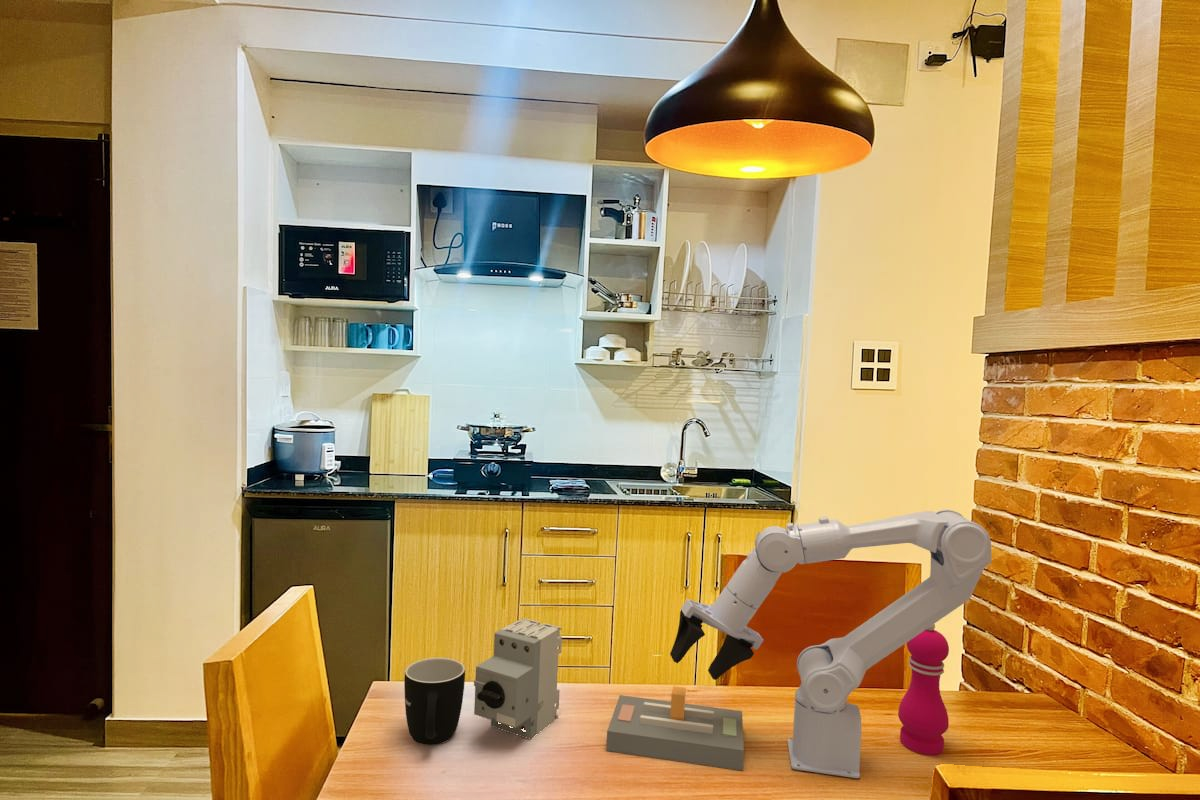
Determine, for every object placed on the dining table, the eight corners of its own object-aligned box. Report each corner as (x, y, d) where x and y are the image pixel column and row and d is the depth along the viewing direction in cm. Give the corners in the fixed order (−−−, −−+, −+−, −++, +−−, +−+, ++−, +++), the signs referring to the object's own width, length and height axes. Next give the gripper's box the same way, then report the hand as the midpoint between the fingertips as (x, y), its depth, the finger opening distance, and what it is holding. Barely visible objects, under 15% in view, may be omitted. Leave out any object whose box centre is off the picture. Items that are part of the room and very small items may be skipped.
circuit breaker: (466, 744, 102) (469, 645, 102) (520, 705, 115) (523, 617, 115) (507, 759, 99) (511, 656, 99) (558, 717, 112) (562, 626, 111)
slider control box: (741, 729, 110) (742, 705, 110) (742, 770, 99) (744, 743, 99) (619, 712, 114) (620, 689, 114) (606, 750, 102) (607, 724, 102)
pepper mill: (941, 737, 111) (949, 615, 110) (951, 761, 104) (959, 631, 103) (893, 729, 113) (900, 609, 112) (900, 752, 106) (908, 624, 105)
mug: (405, 720, 108) (408, 657, 108) (463, 718, 110) (466, 656, 110) (396, 763, 97) (398, 693, 96) (460, 760, 98) (463, 691, 98)
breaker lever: (684, 715, 107) (685, 687, 107) (683, 724, 105) (684, 695, 105) (671, 714, 108) (673, 686, 108) (670, 722, 105) (671, 694, 105)
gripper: (765, 599, 110) (718, 666, 112) (696, 564, 105) (648, 634, 107) (786, 625, 104) (736, 695, 105) (713, 589, 99) (662, 663, 100)
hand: (692, 667), depth 106 cm, fingers open, 7 cm apart
